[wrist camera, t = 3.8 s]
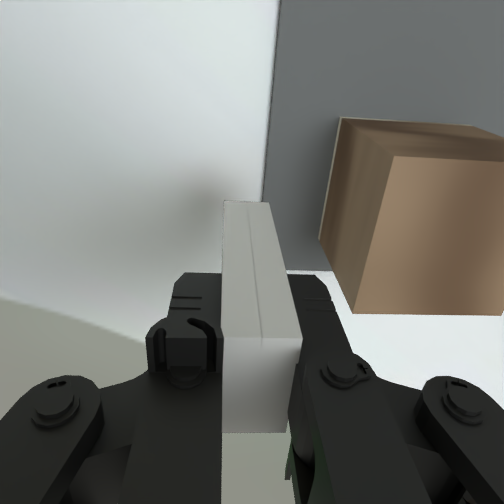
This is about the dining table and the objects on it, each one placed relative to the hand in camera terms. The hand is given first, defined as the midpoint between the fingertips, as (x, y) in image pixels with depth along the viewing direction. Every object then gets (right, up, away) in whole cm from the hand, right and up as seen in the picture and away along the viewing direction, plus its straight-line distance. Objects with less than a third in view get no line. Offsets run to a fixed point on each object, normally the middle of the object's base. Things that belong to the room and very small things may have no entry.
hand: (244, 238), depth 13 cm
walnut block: (+7, +3, +5) cm, 9 cm away
